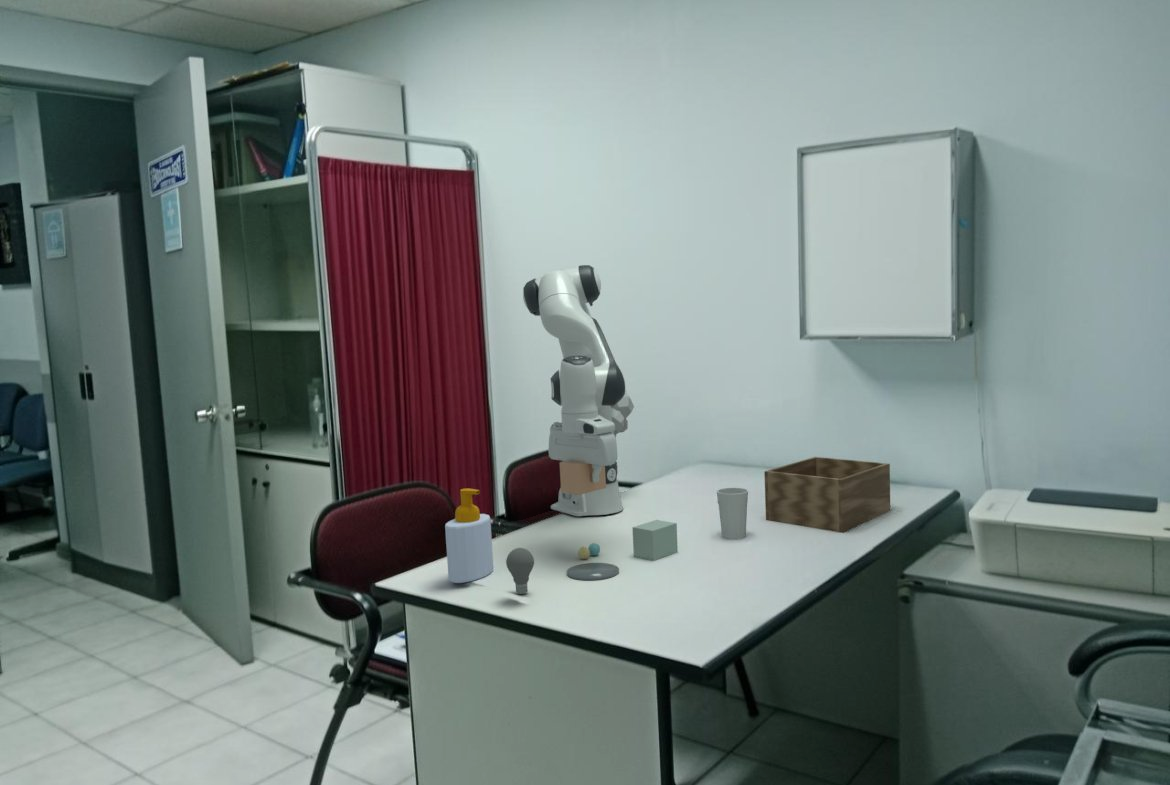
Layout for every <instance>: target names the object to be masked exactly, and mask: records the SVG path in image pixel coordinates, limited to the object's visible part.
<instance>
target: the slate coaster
mask: <svg viewBox="0 0 1170 785" xmlns="http://www.w3.org/2000/svg"><path fill="white" fill-rule="evenodd" d="M619 573H620V568H619V566H617V565H616V564H613V563H607V562H587V563H580V564H576V565H572V566H570V567H569V568H568V569H567V570H566V575H567V576H568V578H570V579H573V580H576V581H577V580H578V581H585V582H586V581H587V582H588V581H590V582H591V581H592V582H593V581H601V580H608V579H611V578H613V577H614V578H615V577H616V576H617V575H618V574H619Z"/></svg>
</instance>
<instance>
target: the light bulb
mask: <svg viewBox="0 0 1170 785" xmlns="http://www.w3.org/2000/svg"><path fill="white" fill-rule="evenodd" d="M505 563H506V567H507V570H508V571H509V574H511V576H512V579H513V582H514V584H515V593H516V594H519V595H525V594H526V593H527V592H529V587H528V582H529V581H530V580H529V579H530V575H531V572H532V570H533V568H534V565H535V558H534V556H533V554H532V552H531V551H530V550H528V549H527V548H523V547H516V548H514V549H512V550H511V551H510V552H509V553H508V555H507V557H506V559H505Z"/></svg>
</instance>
